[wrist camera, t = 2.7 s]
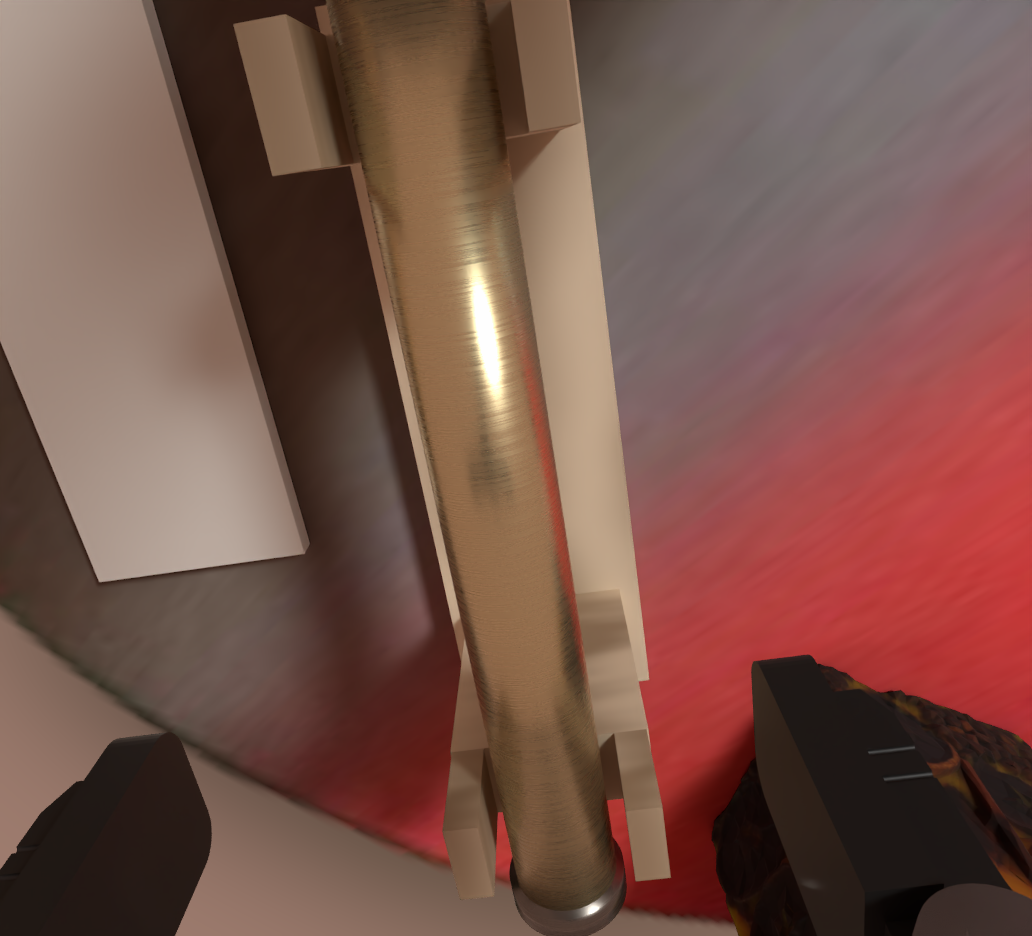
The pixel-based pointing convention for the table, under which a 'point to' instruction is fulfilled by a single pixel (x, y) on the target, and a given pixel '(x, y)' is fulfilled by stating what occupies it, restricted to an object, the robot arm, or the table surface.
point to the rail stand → (565, 371)
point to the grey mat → (128, 301)
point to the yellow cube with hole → (954, 762)
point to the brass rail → (484, 431)
